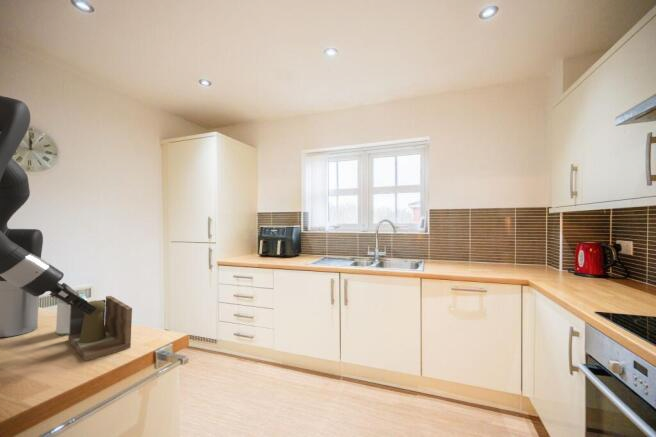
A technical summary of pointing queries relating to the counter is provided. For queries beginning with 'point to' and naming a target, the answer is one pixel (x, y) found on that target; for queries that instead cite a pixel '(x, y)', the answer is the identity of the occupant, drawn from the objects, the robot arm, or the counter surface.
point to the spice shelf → (115, 328)
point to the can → (64, 316)
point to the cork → (93, 324)
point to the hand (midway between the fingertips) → (88, 308)
